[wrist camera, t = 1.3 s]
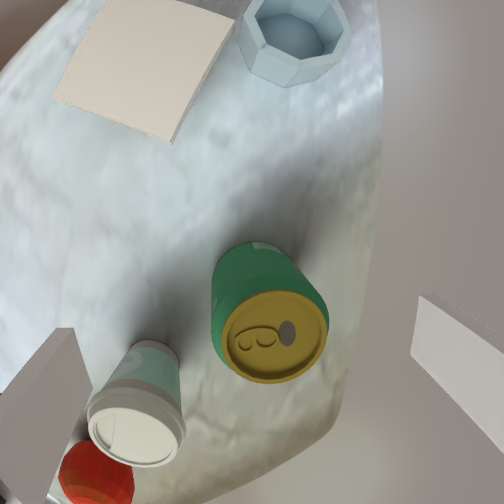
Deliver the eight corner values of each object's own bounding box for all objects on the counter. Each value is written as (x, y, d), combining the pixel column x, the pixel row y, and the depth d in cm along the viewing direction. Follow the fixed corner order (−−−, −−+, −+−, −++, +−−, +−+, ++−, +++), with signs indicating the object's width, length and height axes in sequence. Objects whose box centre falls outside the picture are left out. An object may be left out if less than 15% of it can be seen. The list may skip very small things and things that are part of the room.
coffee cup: (151, 313, 31) (124, 384, 20) (207, 368, 33) (207, 449, 22) (100, 355, 32) (63, 426, 20) (154, 403, 34) (139, 481, 22)
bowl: (226, 62, 26) (228, 37, 20) (263, -1, 25) (274, -31, 19) (307, 100, 28) (328, 85, 22) (338, 36, 26) (362, 13, 21)
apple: (60, 439, 34) (36, 496, 23) (99, 418, 34) (75, 484, 23) (111, 478, 37) (98, 534, 26) (154, 461, 36) (145, 526, 25)
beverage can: (297, 309, 33) (336, 376, 21) (219, 323, 32) (224, 398, 21) (289, 233, 31) (332, 270, 19) (205, 246, 30) (199, 293, 19)
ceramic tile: (61, 102, 22) (51, 98, 20) (122, -4, 20) (116, -14, 18) (172, 144, 24) (169, 142, 22) (233, 30, 22) (235, 20, 20)
